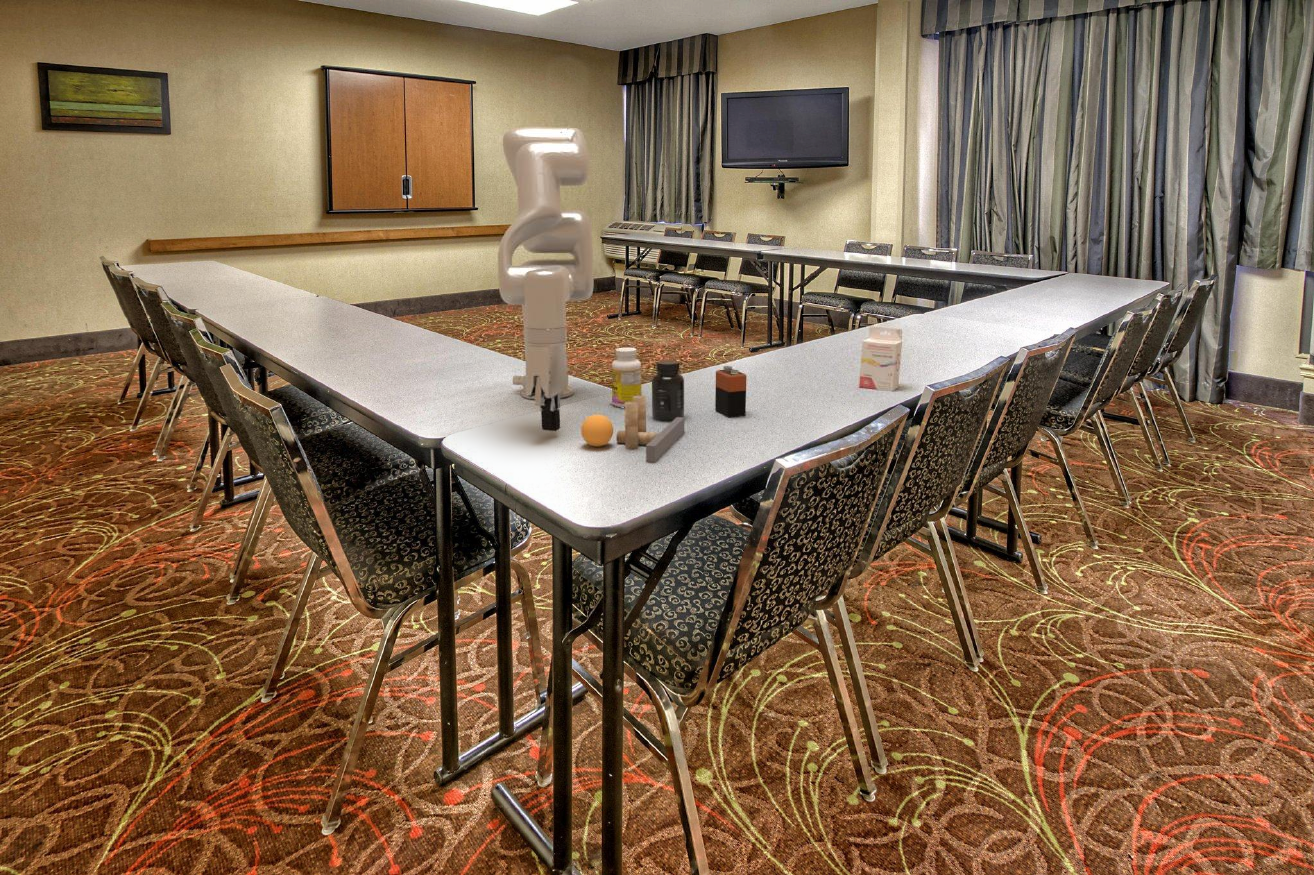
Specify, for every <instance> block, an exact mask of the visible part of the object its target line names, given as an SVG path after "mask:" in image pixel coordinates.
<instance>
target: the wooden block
mask: <svg viewBox="0 0 1314 875" xmlns="http://www.w3.org/2000/svg"><path fill="white" fill-rule="evenodd" d="M659 433H660V432H659ZM659 433H657V432H647V431H646V432H638V446H639V445H641V446H646V445H647V444H648V443H649V442H650V441H651V440H653V439H654V438H655V437H656V436H657V435H658V434H659ZM615 439H616V443H618V444H625V430H617V432H616V438H615Z"/></svg>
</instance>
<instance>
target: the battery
mask: <svg viewBox="0 0 1314 875" xmlns="http://www.w3.org/2000/svg"><path fill="white" fill-rule="evenodd" d="M722 367H723V369H717V370H716V371H715V393H714V394H715V398H714V399H715V402H714V404H715V407H714V409H715V411H716V412H717V413H720V414H722V415H723V416H724V417H727V418H737V417H744V416H746V414H747V413H746V412H747V405H746V403H747V374H745V373H743V372H741V371H739V369H734V368H733V366H732V365H724V366H722Z"/></svg>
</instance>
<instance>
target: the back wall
mask: <svg viewBox="0 0 1314 875" xmlns="http://www.w3.org/2000/svg"><path fill="white" fill-rule="evenodd" d="M683 434H685V417H683V418H682V417H676V418H675V419H674V420H673V421H670V423H669V424H667V426H666V427H665V428H662V430H661V431H660V432H659V434H658V435H657V436H656V437H655V438H654V439H653V440H651V441H650V442H649V443H648V444H647V445H645V462H646V463H656V462H657V461H658V460H659V459H660V458H662V456H663V455H664V454H665V453H666V452H667V451H668V450H669V449H670V448H671V447H672V446H673V445H674V444H675V442H676V441H678V440H679V438H681V436H682V435H683Z"/></svg>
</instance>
